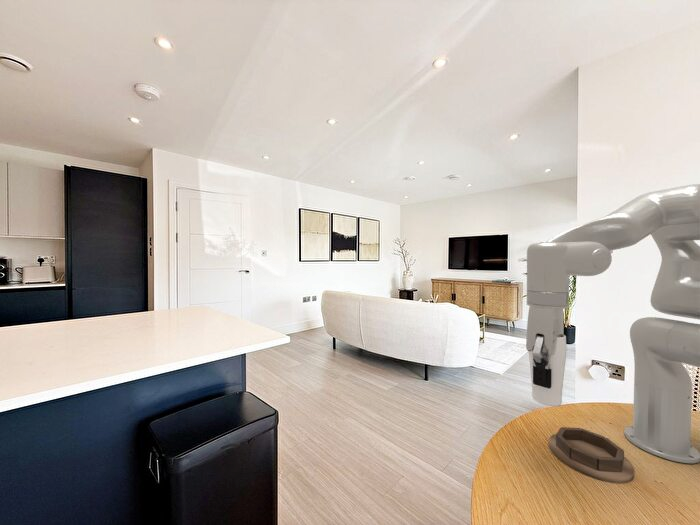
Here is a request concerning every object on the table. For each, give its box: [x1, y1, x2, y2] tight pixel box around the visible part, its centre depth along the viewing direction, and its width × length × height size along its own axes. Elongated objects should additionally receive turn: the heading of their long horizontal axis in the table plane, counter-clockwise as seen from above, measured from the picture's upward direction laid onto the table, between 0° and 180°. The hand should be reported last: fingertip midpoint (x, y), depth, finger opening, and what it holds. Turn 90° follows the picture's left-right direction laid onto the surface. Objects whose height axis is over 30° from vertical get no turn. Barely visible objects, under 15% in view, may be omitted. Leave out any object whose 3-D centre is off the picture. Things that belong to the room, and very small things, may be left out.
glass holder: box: [548, 426, 635, 484], centre depth 65 cm, size 15×15×4 cm
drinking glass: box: [528, 334, 567, 408], centre depth 61 cm, size 7×7×15 cm
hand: (546, 380), depth 61 cm, fingers closed on drinking glass, 6 cm apart
